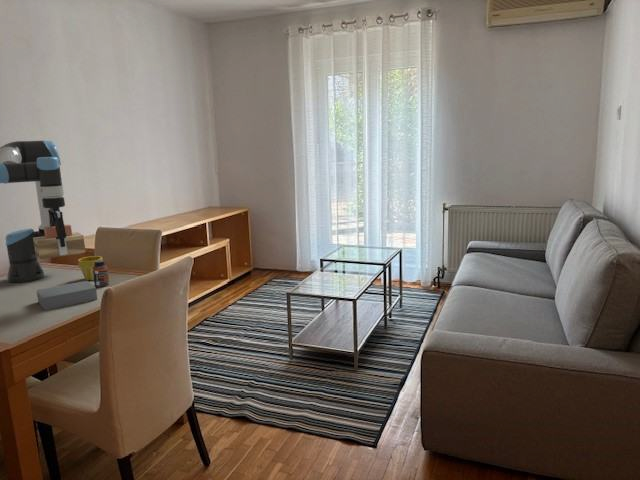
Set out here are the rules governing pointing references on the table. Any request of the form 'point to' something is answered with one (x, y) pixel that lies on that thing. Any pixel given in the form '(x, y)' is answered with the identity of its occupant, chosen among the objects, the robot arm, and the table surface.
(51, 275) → the table surface
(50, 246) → the beige block
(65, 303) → the block
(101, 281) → the supplement bottle
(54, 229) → the crate
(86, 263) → the plant pot
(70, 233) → the crate
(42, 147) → the robot arm
